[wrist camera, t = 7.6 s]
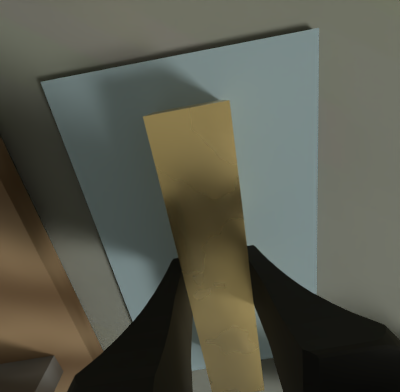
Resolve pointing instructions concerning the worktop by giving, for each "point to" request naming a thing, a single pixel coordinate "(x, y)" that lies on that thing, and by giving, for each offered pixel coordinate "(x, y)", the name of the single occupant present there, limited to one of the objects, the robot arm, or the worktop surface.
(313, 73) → the rubber mat
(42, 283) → the hook stand
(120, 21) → the worktop surface
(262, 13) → the worktop surface
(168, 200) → the brass rail
